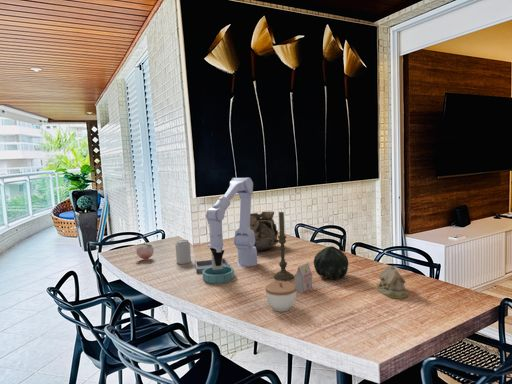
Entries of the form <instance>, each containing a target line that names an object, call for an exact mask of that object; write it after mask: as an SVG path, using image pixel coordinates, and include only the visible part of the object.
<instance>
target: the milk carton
mask: <svg viewBox="0 0 512 384" xmlns="http://www.w3.org/2000/svg"><path fill="white" fill-rule="evenodd" d="M309 264H310V263H308V262H307V263H305V264H303V265H300V266H298V267H297V270H296V273H295V275H294V285H295V286H296V293H301V294H304V293H306V292H307V291H309V290H311V289H313V273H312V270H311V268H310V265H309Z"/></svg>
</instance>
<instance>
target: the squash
mask: <svg viewBox="0 0 512 384" xmlns="http://www.w3.org/2000/svg"><path fill="white" fill-rule="evenodd" d="M313 266H314V270H315V271H316V272H315V273H317V275H319V276H321V277H323V278H326V279H327V280H329V281H330V280H332V279H333V280H338V279H341V278H344V277H345V276H346V275H347V273H348V270H349V260H348V256H347V255H346V253H344V252H343V251H342V250H340V249H339V248H337V247H335V246H333V245H331V246H330V245H329V246H326V247H324V248H323V249H321V250H320V251H319V252H317V253H316V254H315V256H314V258H313Z"/></svg>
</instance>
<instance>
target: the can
mask: <svg viewBox="0 0 512 384" xmlns="http://www.w3.org/2000/svg"><path fill="white" fill-rule="evenodd" d="M175 258H176V259H175V260H176V263H177V264H178V265H185V264H190V263H191V262H192V256H191V243H190V242H189V240H188V239H180V240H176V244H175Z"/></svg>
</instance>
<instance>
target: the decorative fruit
mask: <svg viewBox="0 0 512 384" xmlns="http://www.w3.org/2000/svg"><path fill="white" fill-rule="evenodd" d="M136 247H137V248H136V250H135V252H136V254H137V256H138V257H139V258H140V259H142V260H145V259H147V260H148V259H150V258H151V257H152V256H153V254H154V247H153V245H152V244H151V243H146V241H144V243H140V244H138V245H137V246H136Z"/></svg>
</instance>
